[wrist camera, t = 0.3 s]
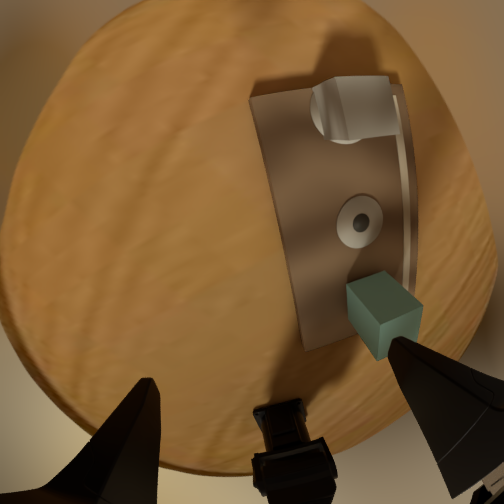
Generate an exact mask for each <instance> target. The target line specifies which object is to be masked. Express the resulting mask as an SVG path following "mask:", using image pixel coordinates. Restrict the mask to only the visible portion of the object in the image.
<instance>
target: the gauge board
mask: <svg viewBox="0 0 504 504" xmlns="http://www.w3.org/2000/svg"><path fill="white" fill-rule="evenodd" d="M248 101H249V104H250V108H251V112H252V116H253V120H254V124H255V128H256V132H257V136H258V140H259V144H260V148H261V152H262V156H263V160H264V164H265V168H266V173H267V177H268V181H269V185H270V190H271V194H272V198H273V203H274V207H275V212H276V216H277V221H278V225H279V230H280V235H281V239H282V244H283V249H284V253H285V258H286V263H287V268H288V273H289V278H290V283H291V288H292V293H293V298H294V303H295V308H296V314H297V319H298V324H299V330H300V335H301V341H302V345H303V348H304V350H305V352H307V351H310V350H314V349H317V348H320V347H322V346H325V345H328V344H331V343H334V342H337V341H339V340H342V339H345V338H348V337H350V336H353V335H356V334H358V333H357V331H356V330H355V328H354V327H353V325H352V324H351V322H350V321H349V320H348V307H347V289H346V284H348V283H351V282H353V281H356V280H359V279H362V278H365V277H368V276H371V275H373V274H376V273H379V272H382V271H386V272H387V273H388V274H389V275H390V276H391V277H393V278H394V279H395V280H396V281H397V282H398V283H399V284H400V285H402V286H403V287H404V288H405V289H406V290H407V291H408V292H409V293H410V294H412V295H413V296H414V295H415V285H416V273H417V256H418V195H417V178H416V166H415V156H414V148H413V140H412V133H411V127H410V121H409V115H408V110H407V105H406V100H405V95H404V91H403V86H402V84H390V81H389V77H388V76H341V77H334V78H331V79H328V80H326V81H323V82H322V83H320V84H319V85H317V86H315V87H313V88H306V89H298V90H291V91H284V92H278V93H272V94H266V95H261V96H255V97H251V98H250V99H249V100H248Z"/></svg>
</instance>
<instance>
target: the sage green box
mask: <svg viewBox="0 0 504 504" xmlns="http://www.w3.org/2000/svg"><path fill="white" fill-rule="evenodd" d="M346 289H347V307H348V320H349V321H350V322H351V324H352V325H353V327H354V328H355V330H356V331H357V333H358V334H359V335H360V337H361V338H362V340H363V341H364V343H365V344H366V346H367V347H368V349H369V350H370V352H371V353H372V355H373V356H374V358H375V359H376V361H379V360H381V359H383V358H385V357H388V350H389V347H390V344H391V341H392V339H393V338H395V337H398V336H403V337H406V338H408V339H410V340H412V341H414V342H417V338H418V333H419V328H420V322H421V317H422V311H423V305H422V304H421V303H420V302H419V301H418V300H417V299H416V298H415V297H414V296H413V295H412V294H410V293H409V292H408V291H407V290H406V289H405V288H404V287H403V286H402V285H400V284H399V283H398V282H397V281H396V280H395V279H394V278H393V277H391V276H390V275H389V274H388V273H387V272H386V271H382V272H379V273H376V274H373V275H371V276H368V277H365V278H362V279H359V280H356V281H353V282H351V283H348V284H346Z"/></svg>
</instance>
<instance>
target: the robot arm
mask: <svg viewBox="0 0 504 504" xmlns="http://www.w3.org/2000/svg"><path fill="white" fill-rule="evenodd" d="M388 360H389V362H390V364H391V367H392V369H393V372H394V374H395V377H396V379H397V382H398V384H399V386H400V389H401V391H402V393H403V395H404V396H405V398H406V400H407V402H408V404H409V406H410V408H411V410H412V412H413V414H414V416H415V418H416V420H417V422H418V424H419V426H420V428H421V430H422V432H423V434H424V436H425V438H426V440H427V443H428V445H429V447H430V449H431V451H432V453H433V456H434V458H435V460H436V462H437V465H438V467H439V469H440V472H441V474H442V476H443V479H444V481H445V483H446V486H447V488H448V491H449V493H450V496H451V498H452V499H453V498H455V497H457V496H458V495H460V494H462V493H463V492H465V491H466V490H468V489H469V488H471V487H472V486H474V485H475V484H476V483H478V482H479V481H480V480H482V482H483V483H484V484H483V485H481V486H480V487H479V488H478V489H477V490H476V491H474V492H473V495H472V499H471V502H470V504H504V381H503V380H500V379H497V378H494V377H491V376H489V375H486V374H484V373H482V372H479V371H477V370H475V369H472V368H470V367H468V366H466V365H464V364H462V363H459V362H457V361H455V360H453V359H451V358H449V357H446V356H444V355H442V354H440V353H438V352H436V351H433V350H431V349H429V348H427V347H425V346H423V345H421V344H418V343H416V342H414V341H412V340H410V339H408V338H406V337H403V336H398V337H395V338H393V339H392V341H391V344H390V347H389V350H388ZM253 416H254V418H255V420H256V422H257V424H258V426H259V428H260V429H261V431H262V433H263V438H264V443H265V448H266V452H263V453H254V458H253V459H251V461H252V467H253V486H254V487H255V488H257V489H258V490H259V492H260V493H261V495H262V496H263V497H264V496H267V499H268V503H269V504H331V503H332V500H333V497H334V494H335V491H336V483H335V480H334V479H336V478H337V477H338V475H337V469H336V465H335V462H334V459H333V457H332V455H331V453H330V451H329V448H328V446H327V444H326V442H325V440H324V438H323V437H321V438H319V439H316V440H313V441H311V440H310V437H309V433H308V430H307V427H306V424H305V422H306V417H305V412H304V407H303V402H302V399H296V400H292V401H289V402H285V403H282V404H278V405H274V406H270V407H267V408H262V409H258V410H255V411H253ZM160 440H161V411H160V393H159V390H158V388H157V386H156V384H155V381H154V380H153V378H141V379H140V380H139V381H138V382H137V383H136V385H135V386H134V387H133V388H132V390H131V391H130V392H129V393H128V394H127V396H126V397H125V398H124V399H123V400H122V402H121V403H120V404H119V405H118V406H117V408H116V409H115V410H114V411H113V412H112V414H111V415H110V416H109V417H108V418H107V420H106V421H105V422H104V423H103V425H102V426H101V427H100V428H99V429H98V431H97V432H96V433H95V434H94V435H93V437H92V438H91V439H90V442H88V443H87V444H86V445H85V446H84V447H83V449H82V450H81V451H80V452H79V453H78V454H77V456H76V457H75V458H74V459H73V460H72V461H71V462H70V463H69V464H68V465H67V466H66V467H65V468H64V469H62V470H61V471H60V472H59V473H58V474H57V475H56V476H55V477H54V478H53V479H52V480H51V481H49V482H48V483H47V484H46V485H44V486H42V487H40V488H37V489H32V490H26V491H19V492H11V493H2V494H0V504H157V485H158V467H159V453H160Z"/></svg>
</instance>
